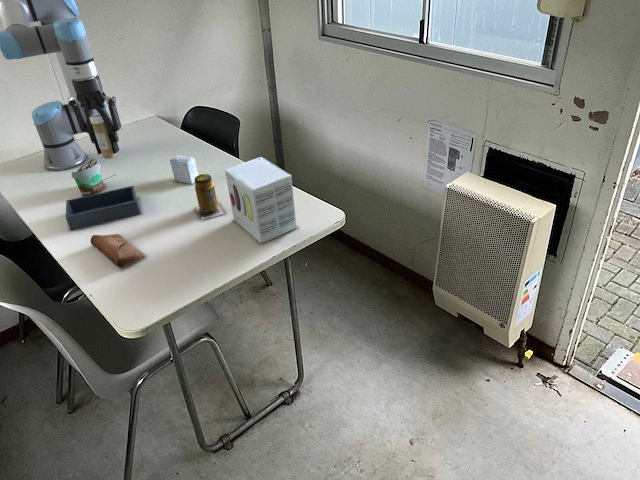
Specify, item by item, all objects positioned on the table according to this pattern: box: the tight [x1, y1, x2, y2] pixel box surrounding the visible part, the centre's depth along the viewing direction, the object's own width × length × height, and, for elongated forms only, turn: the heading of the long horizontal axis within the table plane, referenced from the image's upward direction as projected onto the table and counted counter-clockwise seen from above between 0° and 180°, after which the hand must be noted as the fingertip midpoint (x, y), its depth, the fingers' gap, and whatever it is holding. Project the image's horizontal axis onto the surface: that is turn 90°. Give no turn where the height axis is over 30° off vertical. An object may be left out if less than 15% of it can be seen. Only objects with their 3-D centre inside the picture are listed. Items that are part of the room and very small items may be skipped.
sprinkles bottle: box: [90, 113, 118, 160], centre depth 156 cm, size 5×5×13 cm
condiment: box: [194, 173, 225, 220], centre depth 163 cm, size 7×8×12 cm
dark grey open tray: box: [65, 185, 141, 231], centre depth 168 cm, size 12×22×5 cm, turn 112°
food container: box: [71, 157, 105, 197], centre depth 180 cm, size 12×6×10 cm, turn 168°
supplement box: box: [224, 156, 298, 244], centre depth 152 cm, size 17×13×18 cm
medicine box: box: [169, 154, 199, 185], centre depth 183 cm, size 8×4×9 cm, turn 65°
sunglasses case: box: [90, 233, 145, 269], centre depth 149 cm, size 18×7×7 cm
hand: (108, 151), depth 159 cm, fingers closed on sprinkles bottle, 4 cm apart
